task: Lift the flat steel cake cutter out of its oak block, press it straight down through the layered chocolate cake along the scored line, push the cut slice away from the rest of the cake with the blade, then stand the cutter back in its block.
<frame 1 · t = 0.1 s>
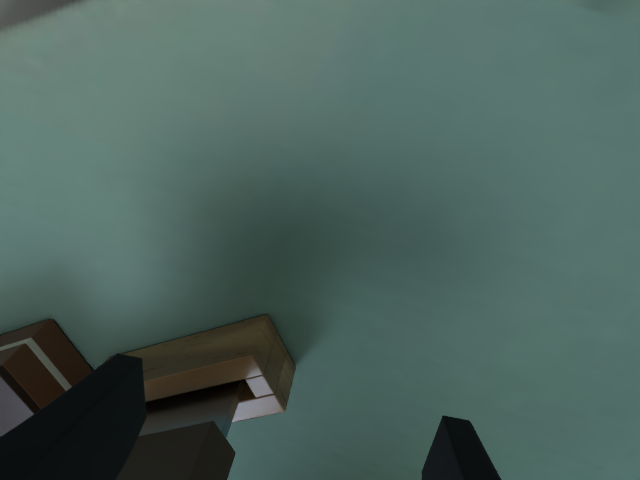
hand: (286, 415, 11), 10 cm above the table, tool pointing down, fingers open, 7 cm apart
cake slice: (24, 364, 26), on the table
knife block: (199, 362, 24), on the table
cake cutter: (166, 426, 20), in the knife block
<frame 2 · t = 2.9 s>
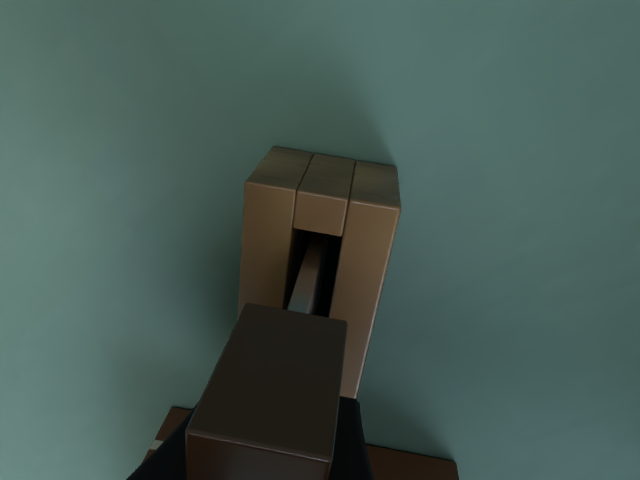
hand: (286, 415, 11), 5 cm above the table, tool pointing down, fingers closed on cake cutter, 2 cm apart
cake slice: (222, 477, 20), on the table
knife block: (313, 299, 15), on the table
cake cutter: (290, 394, 11), in the knife block, touching gripper
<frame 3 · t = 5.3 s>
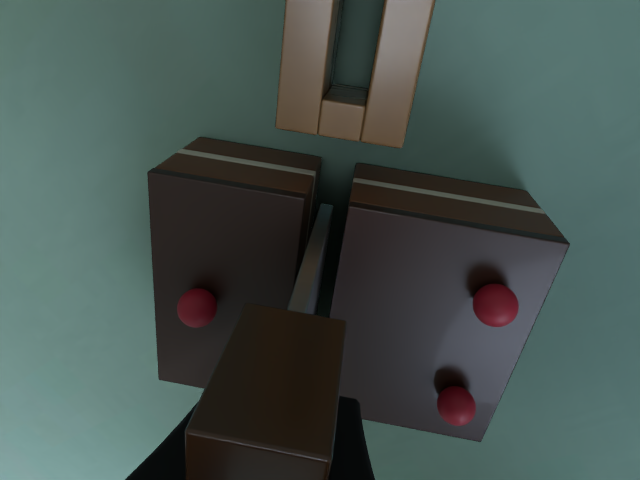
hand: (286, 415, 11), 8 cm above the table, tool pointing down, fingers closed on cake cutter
chocolate cake: (414, 272, 17), on the table
cake slice: (253, 244, 18), on the table
cake cutter: (289, 394, 11), point 7 cm above the table, touching gripper
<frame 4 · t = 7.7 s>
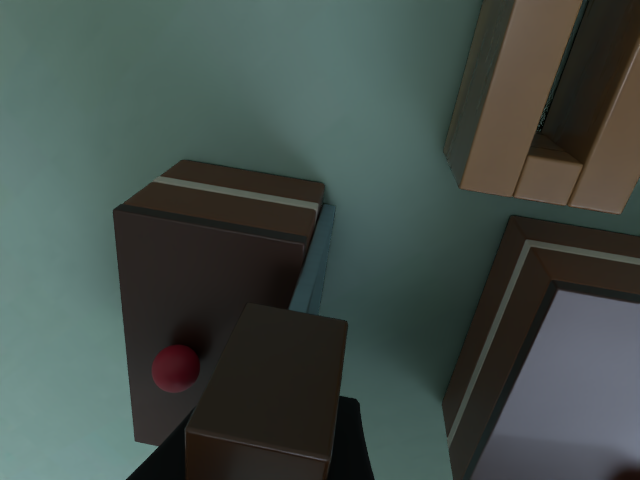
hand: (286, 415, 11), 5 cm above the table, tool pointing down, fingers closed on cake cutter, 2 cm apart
chocolate cake: (560, 336, 15), on the table
cake slice: (246, 279, 15), on the table, touching cake cutter
cake cutter: (290, 394, 11), on the table, touching cake slice, gripper
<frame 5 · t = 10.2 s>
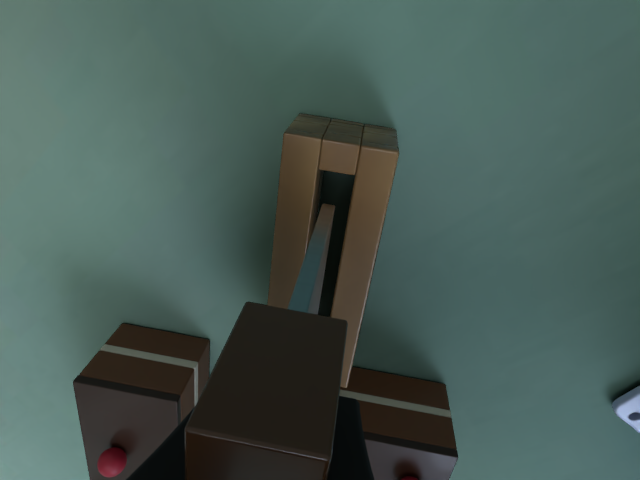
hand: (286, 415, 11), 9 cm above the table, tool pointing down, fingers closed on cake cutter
chocolate cake: (368, 428, 23), on the table
cake slice: (168, 388, 24), on the table
knife block: (328, 240, 19), on the table
cake cutter: (290, 394, 11), point 8 cm above the table, touching gripper
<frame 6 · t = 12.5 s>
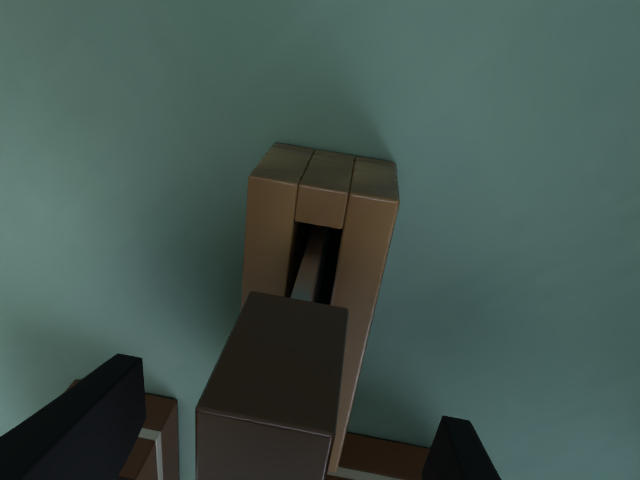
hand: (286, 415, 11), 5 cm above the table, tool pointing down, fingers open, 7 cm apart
cake slice: (132, 451, 21), on the table
knife block: (314, 292, 15), on the table
cake cutter: (292, 383, 12), in the knife block
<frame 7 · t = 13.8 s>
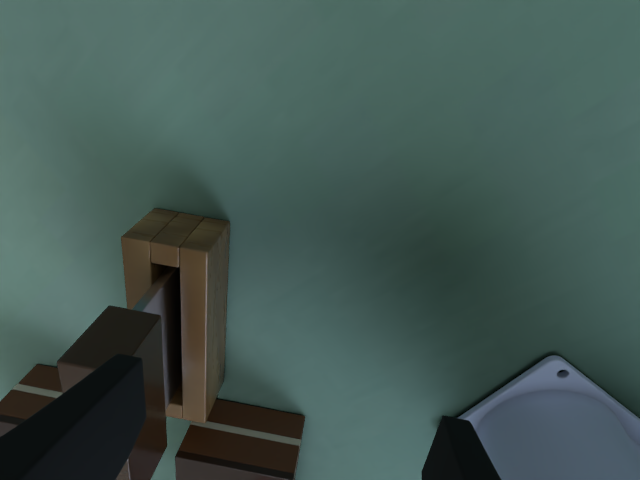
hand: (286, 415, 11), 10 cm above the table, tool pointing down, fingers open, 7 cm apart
chocolate cake: (250, 451, 27), on the table
cake slice: (81, 417, 28), on the table
knife block: (192, 302, 23), on the table
cake cutter: (155, 359, 19), in the knife block
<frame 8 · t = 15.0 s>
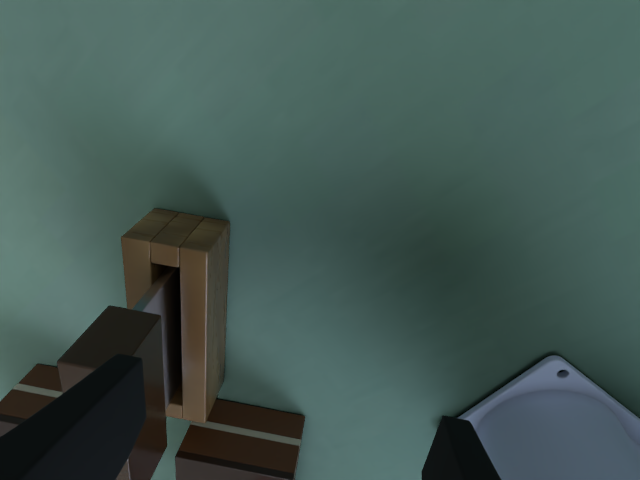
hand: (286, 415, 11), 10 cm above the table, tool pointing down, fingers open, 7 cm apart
chocolate cake: (250, 451, 27), on the table
cake slice: (81, 417, 28), on the table
knife block: (192, 302, 23), on the table
cake cutter: (155, 359, 19), in the knife block
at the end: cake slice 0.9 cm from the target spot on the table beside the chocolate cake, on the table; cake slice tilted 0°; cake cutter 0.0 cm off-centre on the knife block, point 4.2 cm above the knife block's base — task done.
